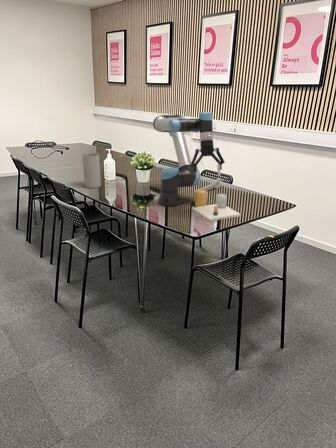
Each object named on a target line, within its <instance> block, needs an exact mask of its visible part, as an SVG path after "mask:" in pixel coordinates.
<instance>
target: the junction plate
mask: <svg viewBox="0 0 336 448" xmlns="http://www.w3.org/2000/svg"><path fill="white" fill-rule="evenodd" d="M227 196H228V195H227V194H224V193H218V194H217V195H216V203H215V204H209V205H208V204H206V206H200V207H196V206H193V207H192V208H191V210H192V211H194V212H195V213H197V214H198V215H199V216H201V217H202V216H203V217H202V218H204V219H205V218H206V219H205V220H207V221H208V220H209V222H214V221H213V220H215V221H220V219H221V220H226V219H232V218H239V217H241V216H242V214H241V213H240V212H238V211H236V210H234V209H233V208H231V207H229V206H227Z"/></svg>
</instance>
